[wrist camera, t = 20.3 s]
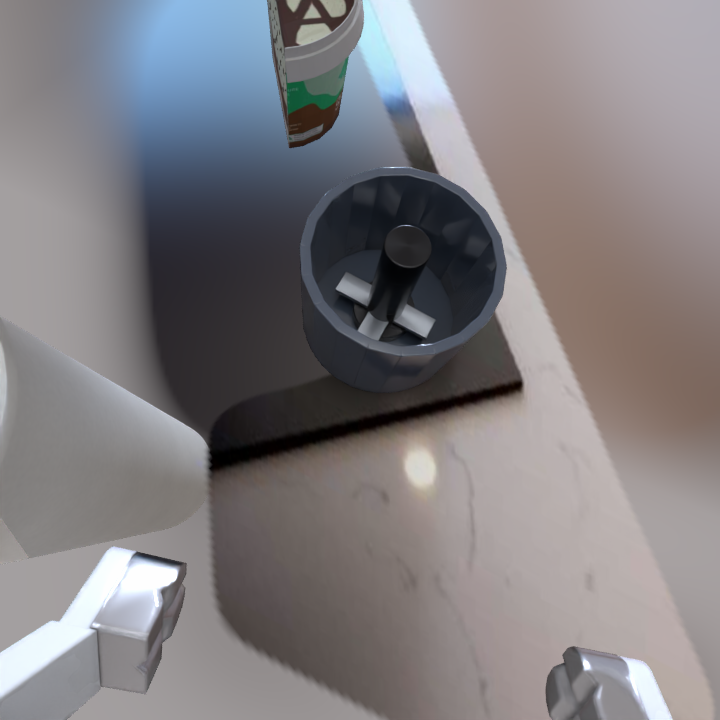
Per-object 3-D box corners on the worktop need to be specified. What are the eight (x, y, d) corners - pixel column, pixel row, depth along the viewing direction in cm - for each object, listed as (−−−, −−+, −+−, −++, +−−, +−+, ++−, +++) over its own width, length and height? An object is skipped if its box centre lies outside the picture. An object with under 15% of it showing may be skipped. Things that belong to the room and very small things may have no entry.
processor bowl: (270, 306, 36) (256, 240, 27) (386, 219, 39) (409, 133, 29) (375, 426, 34) (399, 400, 25) (488, 326, 37) (546, 270, 28)
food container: (366, 156, 40) (384, 49, 30) (291, 164, 39) (285, 55, 30) (340, 38, 43) (348, -93, 33) (269, 42, 42) (258, -91, 33)
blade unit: (314, 330, 35) (316, 266, 25) (362, 252, 37) (380, 166, 27) (403, 378, 34) (438, 332, 25) (446, 297, 37) (494, 226, 27)
